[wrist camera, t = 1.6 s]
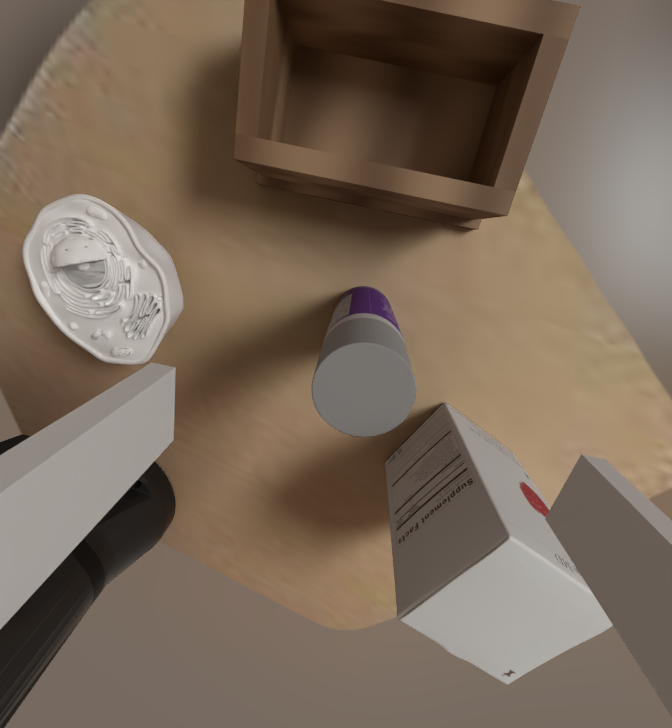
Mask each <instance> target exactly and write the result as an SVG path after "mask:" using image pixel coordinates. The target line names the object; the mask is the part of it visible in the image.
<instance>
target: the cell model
mask: <svg viewBox="0 0 672 728" xmlns="http://www.w3.org/2000/svg"><path fill="white" fill-rule="evenodd" d="M22 257H23V263H24V266H25V269H26V272H27V275H28V278H29V281H30V284H31V288H32V292H33V294H34V296H35V298H36V300H37V302H38V303H39V305H40V306H41V307H42V309H43V310H44V311H45V313H46V314H47V315H48V317H49V318H50V319H51V320H52V322H53V323H54V324H55V325H56V326H57V327H58V329H59V330H60V331H61V332H62V333H63V334H65V335H66V336H67V337H68V338H69V339H70V340H72V341H73V342H75V343H76V344H77V345H79V346H80V347H82V348H83V349H85V350H86V351H87V352H89V353H90V354H92V355H93V356H94V357H96V358H97V359H99V360H101V361H103V362H106V363H112V364H123V365H138V364H143V363H145V362H147V361H148V360H149V359H150V358H151V357H152V356H153V354H154V353H155V351H156V349H157V347H158V346H159V344H160V342H161V340H162V339H163V337H164V336H165V334H166V333H167V332H168V330H169V329H170V328H171V327H172V326H173V325H174V324H175V322H176V321H177V319H178V317H179V315H180V313H181V312H182V309H183V295H182V290H181V286H180V282H179V279H178V275H177V272H176V269H175V266H174V263H173V260H172V258H171V256H170V255H169V253H168V252H167V251H166V250H165V248H164V247H163V246H162V245H161V244H160V243H159V242H158V241H157V240H156V239H155V238H154V237H153V236H152V235H151V234H150V233H149V232H148V231H147V230H146V229H144V228H143V227H142V226H140V225H139V224H138V223H136V222H135V221H133V220H132V219H131V218H129V217H128V216H126V215H124V214H123V213H121V212H120V211H118V210H117V209H115V208H114V207H112V206H110V205H109V204H107V203H106V202H104V201H102V200H100V199H98V198H95V197H93V196H90V195H86V194H74V195H70V196H67V197H64V198H61V199H59V200H57V201H54V202H52V203H50V204H48V205H46V206H45V207H43V208H42V209H41V210H40V211H39V212H38V214H37V216H36V218H35V220H34V223H33V225H32V227H31V229H30V230H29V232H28V233H27V235H26V237H25V239H24V241H23V246H22Z"/></svg>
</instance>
